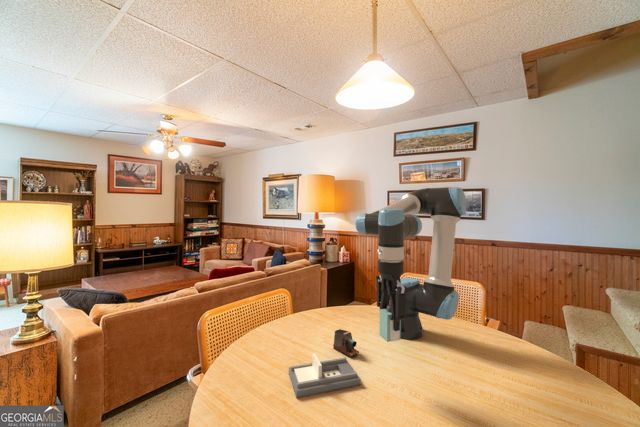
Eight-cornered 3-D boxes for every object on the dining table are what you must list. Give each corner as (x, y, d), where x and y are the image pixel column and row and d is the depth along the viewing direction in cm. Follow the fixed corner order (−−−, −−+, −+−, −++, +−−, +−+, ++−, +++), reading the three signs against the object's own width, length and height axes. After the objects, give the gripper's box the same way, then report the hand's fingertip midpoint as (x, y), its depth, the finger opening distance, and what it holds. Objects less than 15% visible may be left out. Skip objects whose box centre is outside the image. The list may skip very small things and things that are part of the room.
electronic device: (351, 359, 98) (351, 338, 98) (332, 349, 105) (332, 329, 105) (359, 355, 101) (359, 334, 101) (340, 345, 108) (340, 326, 108)
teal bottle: (392, 333, 86) (392, 303, 85) (400, 339, 81) (400, 308, 81) (379, 334, 84) (379, 304, 84) (387, 341, 80) (387, 310, 80)
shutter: (315, 367, 89) (315, 353, 89) (321, 380, 82) (321, 365, 82) (294, 370, 87) (294, 356, 87) (299, 384, 80) (299, 369, 80)
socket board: (345, 363, 95) (345, 355, 95) (360, 385, 83) (360, 375, 83) (288, 373, 89) (288, 364, 89) (296, 398, 77) (296, 387, 77)
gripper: (366, 255, 89) (365, 325, 90) (396, 267, 72) (395, 353, 73) (386, 254, 91) (385, 322, 92) (420, 265, 75) (418, 348, 75)
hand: (389, 335), depth 83 cm, fingers closed on teal bottle, 4 cm apart
